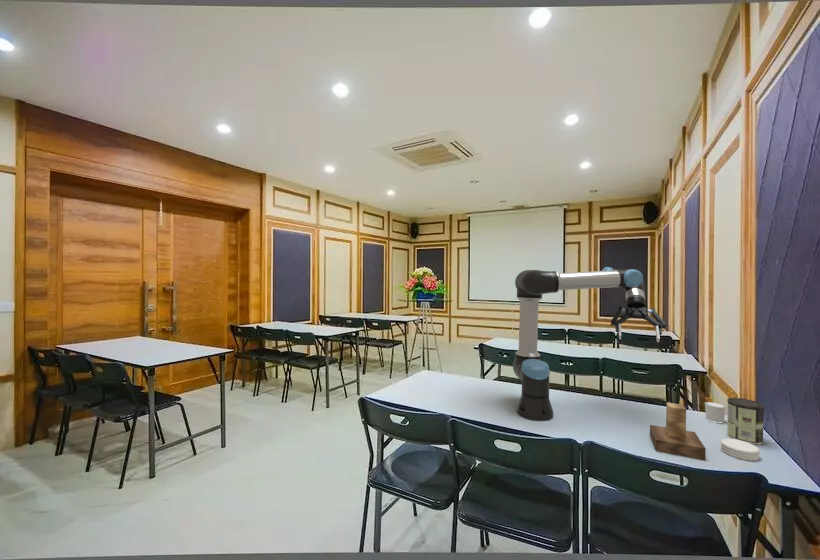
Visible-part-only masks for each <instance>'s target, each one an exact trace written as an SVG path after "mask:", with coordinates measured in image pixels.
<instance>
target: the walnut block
mask: <svg viewBox="0 0 820 560" xmlns="http://www.w3.org/2000/svg"><path fill="white" fill-rule="evenodd" d="M649 436H651V437H650V440H651V442H652V444H653V447H654V450H655V452H660V453H666V454H672V455H676V456H677V455H678V456H681V455H683V456H682V457H686V458H687V457H688V458H691V459H692V458H693V459H699V460H702V461H703V460H705V461H706V450H707V449H706V446H705V445H704V444H703V442H702V441H701V439H700V437H699V436H698V434H697V433H696V431H692V430H691V431H690V430H686V440H683V439H677V438H671V437H668V435H667V433H666V426H661V425H660V426H658V425H655V424H654V425H653V424H650V425H649Z"/></svg>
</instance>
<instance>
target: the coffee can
mask: <svg viewBox="0 0 820 560" xmlns="http://www.w3.org/2000/svg"><path fill="white" fill-rule="evenodd" d="M764 409H765V405H764V404H763V403H761V402H758V401H756V400H752V399H747V398H741V397H729V398H728V397H727V421H726V422H727V426H726V427H727V432H726V435H727V436H728V438H729V439H736V440H741V441H745V442H748V443H750V444H752V445H754V446H758V445H759V446H760V445H763V444H764Z"/></svg>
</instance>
